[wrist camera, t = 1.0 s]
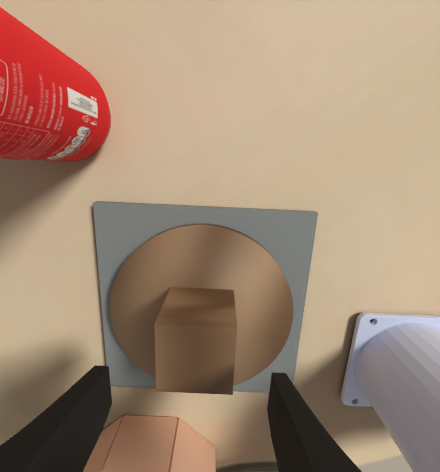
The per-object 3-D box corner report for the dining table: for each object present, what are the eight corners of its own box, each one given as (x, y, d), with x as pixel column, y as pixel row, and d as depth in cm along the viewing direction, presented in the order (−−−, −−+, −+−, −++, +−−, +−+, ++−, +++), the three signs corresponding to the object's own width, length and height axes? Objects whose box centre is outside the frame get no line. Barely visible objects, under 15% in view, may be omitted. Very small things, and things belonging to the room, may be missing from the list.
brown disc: (299, 227, 16) (333, 253, 11) (279, 382, 19) (299, 454, 14) (110, 219, 16) (62, 240, 11) (120, 375, 19) (86, 445, 14)
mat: (314, 211, 16) (317, 212, 16) (289, 387, 20) (291, 393, 19) (97, 201, 16) (92, 202, 16) (111, 379, 20) (108, 386, 19)
